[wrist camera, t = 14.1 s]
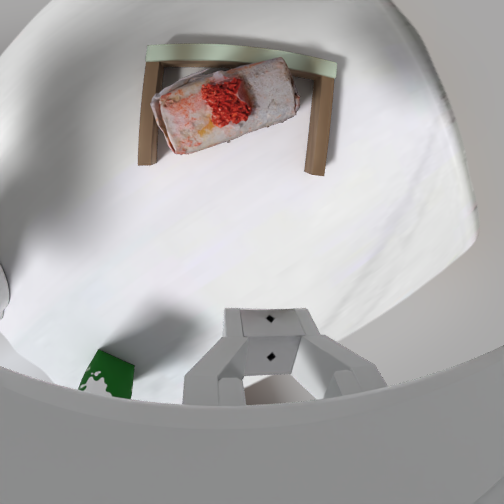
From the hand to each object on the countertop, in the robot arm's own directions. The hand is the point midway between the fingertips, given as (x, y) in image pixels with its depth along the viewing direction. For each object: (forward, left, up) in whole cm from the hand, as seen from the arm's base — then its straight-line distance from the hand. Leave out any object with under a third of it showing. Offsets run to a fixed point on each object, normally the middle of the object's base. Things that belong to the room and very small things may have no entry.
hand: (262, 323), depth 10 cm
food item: (-1, +10, -26) cm, 27 cm away
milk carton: (-20, -32, -25) cm, 45 cm away
